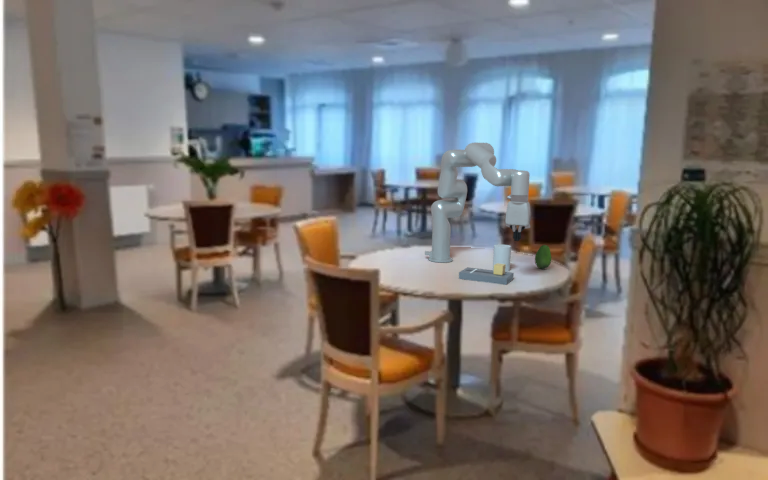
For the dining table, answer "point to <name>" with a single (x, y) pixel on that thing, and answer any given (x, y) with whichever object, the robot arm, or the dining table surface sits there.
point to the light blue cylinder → (502, 255)
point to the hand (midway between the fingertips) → (516, 240)
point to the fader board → (485, 276)
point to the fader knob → (499, 269)
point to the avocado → (543, 257)
